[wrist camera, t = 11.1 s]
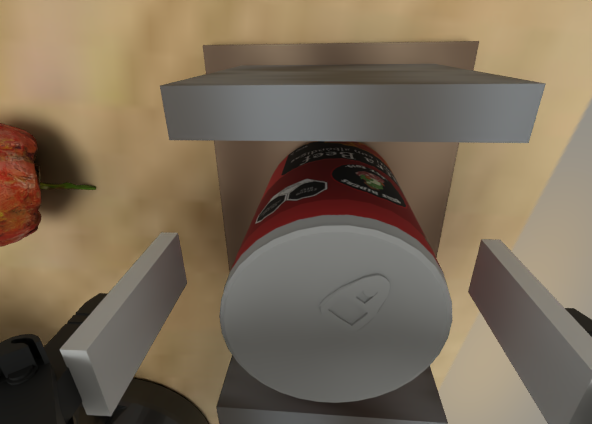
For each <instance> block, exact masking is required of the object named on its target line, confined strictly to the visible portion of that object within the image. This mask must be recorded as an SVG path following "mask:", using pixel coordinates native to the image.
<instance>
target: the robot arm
mask: <svg viewBox="0 0 592 424" xmlns="http://www.w3.org/2000/svg"><path fill="white" fill-rule="evenodd" d="M186 284H187V280H186V274H185V269H184V263H183V258H182V252H181V247H180V241H179V236H178V233H163V232H161V233H160V235H159V236H158V237H157V238H156V239H155V240H154V241H153V243H152V244H151V245H150V246H149V247H148V248H147V249H146V251H145V252H144V253H143V254H142V255H141V256H140V258H139V259H138V260H137V261H136V262H135V263H134V264H133V266H132V267H131V268H130V269H129V270H128V271H127V272H126V274H125V275H124V276H123V277H122V278H121V279H120V280H119V282H118V283H117V284H116V285H115V286H114V287H113V289H112V290H111V291H110V292H109V293H108V294H103V293H99V294H98V295H96V296H95V297H93V298H92V299H90V300H89V301H87V302H86V303H85V304H84V305H83V306H82V307H81V308H80V309H79V310H78V311H77V312H76V315H73V317H72V318H71V319H70V320H69V321H68V323H67V324H65V325H64V326H63V327H62V328H61V329H60V331H59V332H58V333H57V334H56V335H55V336H54V337H53V338H52V339H51V340H50V341H49V342H48V343H47V345H46V346H45V347H43V345H42V343H41V341H40V339H39V337H38V336H36V335H33V334H24V335H19V336H15V337H12V338H9V339H7V340H5V341H3V342H1V343H0V424H208V422H207V421H206V419H205V418H204V416H203V415H202V414H201V412H200V411H199V410H198V409H197V408H196V407H195V406H194V405H192V404H191V403H190V402H189V401H187V400H186V399H185V398H183V397H182V396H180V395H178V394H177V393H175V392H173V391H171V390H169V389H167V388H164V387H162V386H159V385H157V384H154V383H151V382H147V381H143V380H138V379H133V377H134V375H135V373H136V372H137V370H138V368H139V366H140V365H141V363H142V361H143V359H144V358H145V356H146V354H147V352H148V351H149V349H150V347H151V345H152V344H153V342H154V340H155V338H156V337H157V335H158V333H159V331H160V330H161V328H162V326H163V324H164V323H165V321H166V319H167V317H168V316H169V314H170V312H171V310H172V309H173V307H174V305H175V303H176V302H177V300H178V298H179V296H180V295H181V293H182V291H183V289H184V288H185V286H186ZM468 292H469V294H470V296H471V297H472V299H473V301H474V302H475V304H476V306H477V307H478V309H479V311H480V312H481V314H482V315H483V317H484V319H485V320H486V322H487V324H488V325H489V327H490V329H491V330H492V332H493V334H494V335H495V337H496V339H497V340H498V342H499V344H500V345H501V347H502V348H503V350H504V352H505V353H506V355H507V357H508V358H509V360H510V362H511V363H512V365H513V367H514V368H515V370H516V371H517V373H518V375H519V377H520V378H521V380H522V381H523V383H524V385H525V386H526V388H527V390H528V391H529V393H530V395H531V396H532V398H533V400H534V401H535V403H536V404H537V406H538V408H539V410H540V411H541V413H542V414H543V416H544V418H545V420H546V421H547V423H548V424H592V320H591V319H590V318H588V317H587V316H585V315H583V314H582V313H580V312H579V311H577V310H576V309H574V308H564V307H563V306H562V305H561V304H560V303H559V302H558V301H557V300H556V299H555V298H554V297H553V295H552V294H551V293H549V291H548V290H547V289H546V288H545V287H544V286H543V285H542V284H541V283H540V282H539V280H537V278H536V277H535V276H534V275H533V274H532V273H531V272H530V271H529V270H528V269H527V268H526V267H525V266H524V265H523V264H522V262H521V261H520V260H519V259H518V258H517V257H516V256H515V255H514V254H513V253H512V252H511V251H510V250H509V249H508V247H507V246H506V245H505V244H504V243H503V242H502V241H501V240H487V239H481V243H480V247H479V251H478V255H477V259H476V263H475V267H474V271H473V275H472V279H471V283H470V287H469V291H468Z"/></svg>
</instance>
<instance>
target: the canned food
mask: <svg viewBox="0 0 592 424" xmlns="http://www.w3.org/2000/svg"><path fill="white" fill-rule="evenodd" d="M220 323H221V330H222V334H223V337H224V339H225V342H226V344H227V347H228V349H229V350H230V352H231V353H232V355H233V356H234V358H235V359H236V361H237V362H238V363H239V364H240V365H241V366H242V367H243V368H244V369H245V370H246V371H247V372H248V373H249V374H250V375H251V376H253V377H254V378H256V379H257V380H258V381H260V382H261V383H263V384H264V385H266V386H268V387H270V388H272V389H274V390H276V391H278V392H281V393H283V394H287V395H290V396H293V397H296V398H299V399H305V400H311V401H316V402H334V403H340V402H351V401H359V400H364V399H368V398H373V397H377V396H380V395H383V394H385V393H388V392H391V391H393V390H396V389H397V388H399V387H401V386H403V385H405V384H406V383H408V382H410V381H412V380H413V379H414V378H416V377H417V376H418V375H419V374H421V373H422V372H423V371H424V370H426V369H427V368H428V367H429V366H430V364H431V363H432V362H433V361H434V360H435V358H436V357H437V356H438V355H439V354H440V352H441V350H442V348H443V346H444V344H445V342H446V340H447V339H448V335H449V331H450V327H451V323H452V301H451V298H450V294H449V291H448V287H447V284H446V281H445V277H444V274H443V271H442V269H441V267H440V265H439V263H438V261H437V259H436V257H435V254H434V252H433V250H432V248H431V246H430V244H429V242H428V240H427V238H426V236H425V234H424V232H423V230H422V229H421V227H420V225H419V223H418V221H417V219H416V217H415V215H414V213H413V211H412V209H411V207H410V205H409V203H408V201H407V200H406V198H405V196H404V194H403V192H402V190H401V188H400V186H399V184H398V182H397V180H396V178H395V176H394V174H393V172H392V171H391V169H390V167H389V166H388V164H387V162H386V161H385V160H384V159H383V158H382V157H381V156H380V155H379V154H378V153H377V152H376V151H374V150H373V149H371V148H370V147H368V146H367V145H365V144H362V143H359V142H355V141H312V142H310V143H307V144H305V145H303V146H301V147H299V148H297V149H296V150H294V151H293V152H292V153H290V154H289V155H288V156H287V157H286V158H285V159H284V160H283V161H282V162H281V163H280V164H279V165H278V167H277V168H276V170H275V172H274V173H273V175H272V177H271V179H270V181H269V184H268V186H267V188H266V190H265V193H264V195H263V197H262V199H261V202H260V204H259V206H258V208H257V211H256V213H255V215H254V217H253V220H252V222H251V224H250V226H249V229H248V231H247V233H246V235H245V238H244V240H243V242H242V244H241V247H240V249H239V251H238V253H237V256H236V259H235V261H234V264H233V266H232V269H231V271H230V274H229V276H228V279H227V282H226V284H225V287H224V294H223V296H222V299H221V308H220Z"/></svg>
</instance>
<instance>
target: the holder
mask: <svg viewBox="0 0 592 424" xmlns="http://www.w3.org/2000/svg"><path fill="white" fill-rule="evenodd" d="M478 44H479V41H464V42H396V43H328V44H261V45H203V52H204V60H205V68H206V75H201V76H197V77H193V78H189V79H185V80H181V81H177V82H173V83H169V84H165V85H161V86H160V89H161V95H162V100H163V106H164V112H165V117H166V123H167V129H168V134H169V140H214V144H215V153H216V161H217V169H218V178H219V186H220V195H221V203H222V212H223V220H224V228H225V237H226V245H227V254H228V262H229V270H230V271H231V269H232V266H233V264H234V261H235V259H236V256H237V253H238V251H239V249H240V247H241V244H242V242H243V240H244V238H245V235H246V233H247V231H248V229H249V226H250V224H251V222H252V220H253V217H254V215H255V213H256V211H257V208H258V206H259V204H260V202H261V199H262V197H263V195H264V193H265V190H266V188H267V186H268V184H269V181H270V179H271V177H272V175H273V173H274V172H275V170H276V168H277V167H278V165H279V164H280V163H281V162H282V161H283V160H284V159H285V158H286V157H287V156H288V155H289V154H290V153H292V152H293V151H294V150H296V149H297V148H299V147H301V146H303V145H305V144H307V143H310V142H312V141H355V142H359V143H362V144H365V145H367V146H368V147H370V148H371V149H373V150H374V151H376V152H377V153H378V154H379V155H380V156H381V157H382V158H383V159H384V160H385V161H386V162H387V164H388V166H389V167H390V169H391V171H392V172H393V174H394V176H395V178H396V180H397V182H398V184H399V186H400V188H401V190H402V192H403V194H404V196H405V198H406V200H407V201H408V203H409V205H410V207H411V209H412V211H413V213H414V215H415V217H416V219H417V221H418V223H419V225H420V227H421V229H422V230H423V232H424V234H425V236H426V238H427V240H428V242H429V244H430V246H431V248H432V250H433V252H434V254H435V257H437V252H438V247H439V242H440V237H441V232H442V226H443V221H444V216H445V211H446V206H447V201H448V196H449V191H450V186H451V181H452V176H453V171H454V166H455V161H456V156H457V151H458V145H459V142H484V143H529V140H530V136H531V133H532V129H533V126H534V122H535V119H536V115H537V112H538V108H539V105H540V101H541V98H542V94H543V91H544V87H545V83H539V82H533V81H528V80H522V79H517V78H511V77H506V76H500V75H494V74H489V73H483V72H478V71H473V70H474V64H475V59H476V54H477V49H478ZM217 413H218V418H219V424H448V422H447V419H446V415H445V413H444V409H443V406H442V403H441V400H440V397H439V393H438V390H437V387H436V384H435V381H434V378H433V375H432V372H431V368H430V366H429V367H428V368H427V369H426V370H424V371H423V372H422V373H421V374H419V375H418V376H417V377H416V378H414V379H413V380H412V381H410V382H408V383H406V384H405V385H403V386H401V387H399V388H397V389H396V390H393V391H391V392H388V393H385V394H383V395H380V396H377V397H373V398H368V399H364V400H359V401H351V402H340V403H334V402H316V401H311V400H305V399H299V398H296V397H293V396H290V395H287V394H283V393H281V392H278V391H276V390H274V389H272V388H270V387H268V386H266V385H264V384H263V383H261V382H260V381H258V380H257V379H256V378H254V377H253V376H251V375H250V374H249V373H248V372H247V371H246V370H245V369H244V368H243V367H242V366H241V365H240V364H239V363H238V362H237V361H236V359H235V358H234V356H233V355H232V358H231V361H230V364H229V368H228V371H227V374H226V377H225V381H224V384H223V387H222V390H221V394H220V397H219V400H218V404H217Z"/></svg>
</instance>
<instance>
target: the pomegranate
mask: <svg viewBox="0 0 592 424" xmlns="http://www.w3.org/2000/svg"><path fill="white" fill-rule="evenodd" d="M36 155H37V142H36V139H35V138H34V137H33V135H31V134H30V133H28V132H26V131H25V130H22V129H19V128H15V127H12V126H9V125H4V124H1V123H0V246H5V245H8V244H11V243H14V242H17V241H19V240H21V239H23V238H24V237H27V236H28V235H30V234H32V233H34V232H35V231H36V230H37V229H38V225H39V223H40V221H41V214H40V212H39V211H38V209H39V207H40V204H41V191H40V189H85V190H96V187H95V186H89V185H75V184H72V183H68V182H66V183H63V184H48V183H41V182H40V166H39V165H37V164H35V163H34V162H33V161H34V160H35V158H36ZM35 170H36V171H37V172H38V174H36V171H35ZM38 180H39V182H38Z"/></svg>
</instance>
